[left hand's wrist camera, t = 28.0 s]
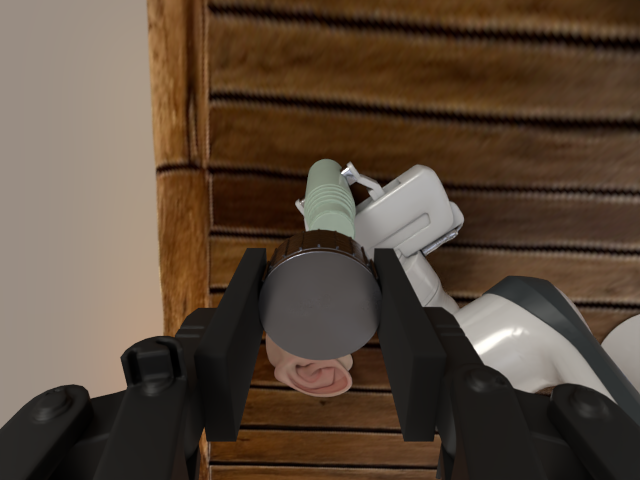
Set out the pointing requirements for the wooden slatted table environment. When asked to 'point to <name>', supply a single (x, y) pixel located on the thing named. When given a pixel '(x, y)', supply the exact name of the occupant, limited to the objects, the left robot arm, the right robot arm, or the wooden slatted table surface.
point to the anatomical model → (310, 372)
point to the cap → (320, 296)
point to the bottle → (329, 199)
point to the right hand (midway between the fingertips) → (322, 182)
